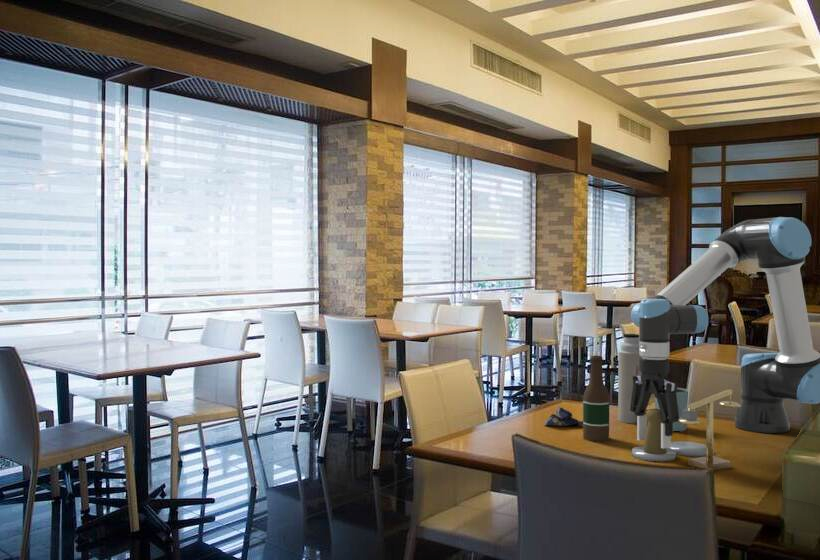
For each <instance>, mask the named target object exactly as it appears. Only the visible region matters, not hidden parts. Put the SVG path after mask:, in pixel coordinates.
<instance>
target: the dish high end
mask: <svg viewBox="0 0 820 560" xmlns="http://www.w3.org/2000/svg"><path fill="white" fill-rule="evenodd" d="M668 449H671V450H673V451H675V452H676V455H677V454H678V456H682V457H683V456H685V457H694V458H699V457H706V444H703V443H699V442H693V441H686V440H685V441H681V440H680V441H671V448H668ZM698 456H699V457H698Z"/></svg>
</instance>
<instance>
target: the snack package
mask: <svg viewBox="0 0 820 560" xmlns="http://www.w3.org/2000/svg"><path fill="white" fill-rule="evenodd" d="M542 424H543V425H544V427H545V426H546V427H547V426H557V425H558V426H562V427H563V426H565V427H566V426H571V425H574V424H575V425H579V424H580V425H581V426H583V420H581V421H580V420H578V419H577V418H573V413H572V412H571V411H569V410H567V409H566V408H564V407H560V406H558V407H557V408H556V409H555V414H554V413H552V414H550V416H549V417H548V418H547V419H546V420H545V422H543V423H542ZM558 426H557V427H558Z"/></svg>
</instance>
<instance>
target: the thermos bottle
mask: <svg viewBox="0 0 820 560" xmlns="http://www.w3.org/2000/svg"><path fill="white" fill-rule="evenodd" d="M622 336H623V343H621V344H620V350H618V363H617V365H618V370H617V371H618V373H617V375H618V376H617V377H618V378H617V379H618V387H617V388H618V390H617V393H618V397H617V398H618V400H617V401H618V405H617V407H618V408H617V412H618V413H617V415H618V417H617V421H619V422H621V423H625V424H636V415H635V413H634V412H631V411H630V406H631V398H632V391H633V376H641V374H642V372H640V371H639V359H640V358H642V356H640V355H639V341H640V340H639V333H638V334H637V333H624V334H622ZM635 407H636V406H635Z"/></svg>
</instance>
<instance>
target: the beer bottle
mask: <svg viewBox="0 0 820 560" xmlns="http://www.w3.org/2000/svg"><path fill="white" fill-rule="evenodd" d="M589 360H590V372H589V374H590V375H589V383H588V385H587V386H586V387H585V390H584V393H583V400H582V415H583V416H582V417H583V418H582V422H583V425H582V432H583V433H582V434H583V435H582V436H583V439H584V440H586V439H587V441H589V442H597V441H599V442H600V443H601V441H602V442H607V441H609V439H610V393H609V390H608V388H607V387H606V385H605V384H604V375H603V361H604V359H603V356H602V355H597V354H596V355H595V354H594V355H591V356H590V359H589ZM599 442H598V443H599Z"/></svg>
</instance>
